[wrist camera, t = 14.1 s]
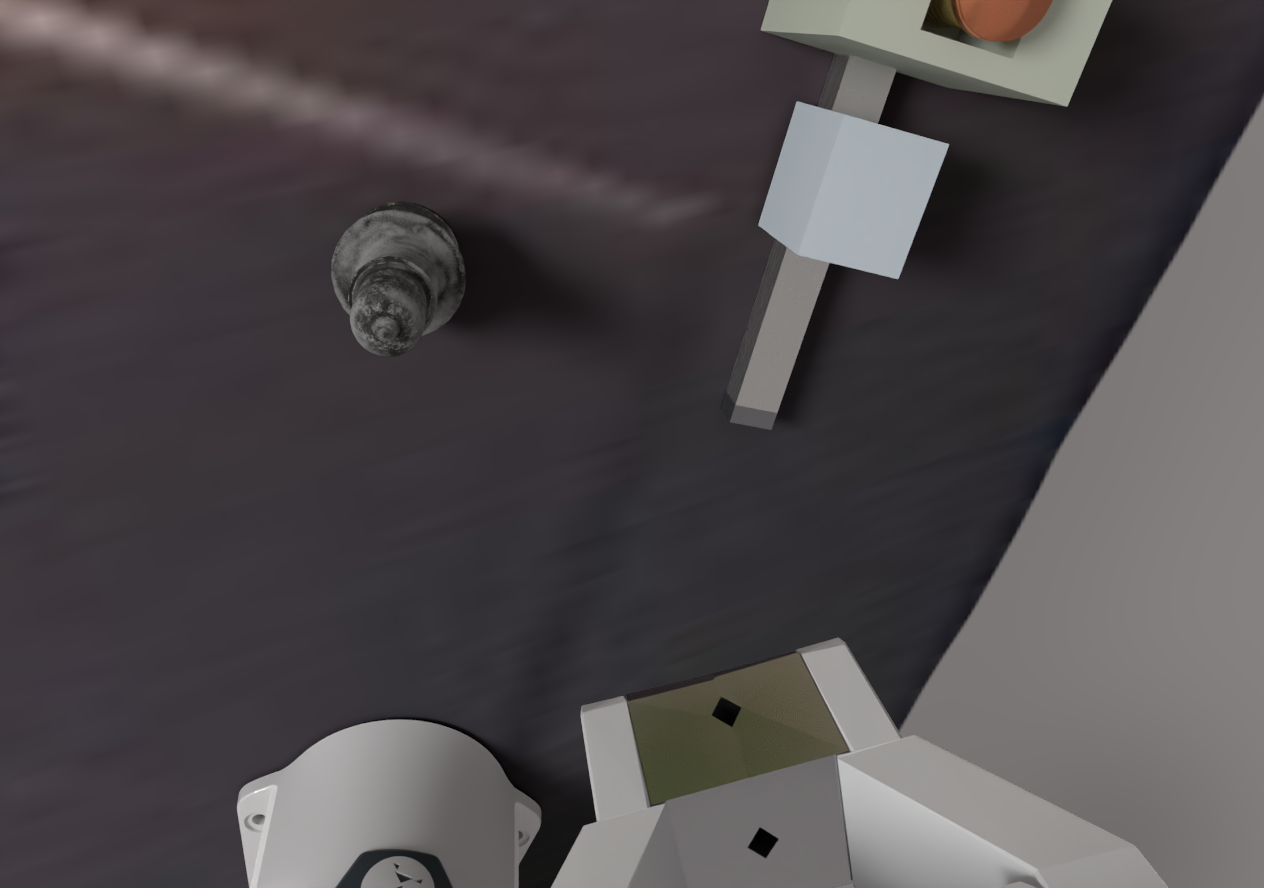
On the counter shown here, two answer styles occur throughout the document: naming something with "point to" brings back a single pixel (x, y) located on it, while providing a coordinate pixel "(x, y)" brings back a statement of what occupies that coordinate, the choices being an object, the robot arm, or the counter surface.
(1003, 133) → the counter surface
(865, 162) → the block
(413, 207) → the stone chess piece
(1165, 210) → the counter surface
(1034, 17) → the copper knob
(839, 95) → the rail
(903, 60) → the block with square hole
